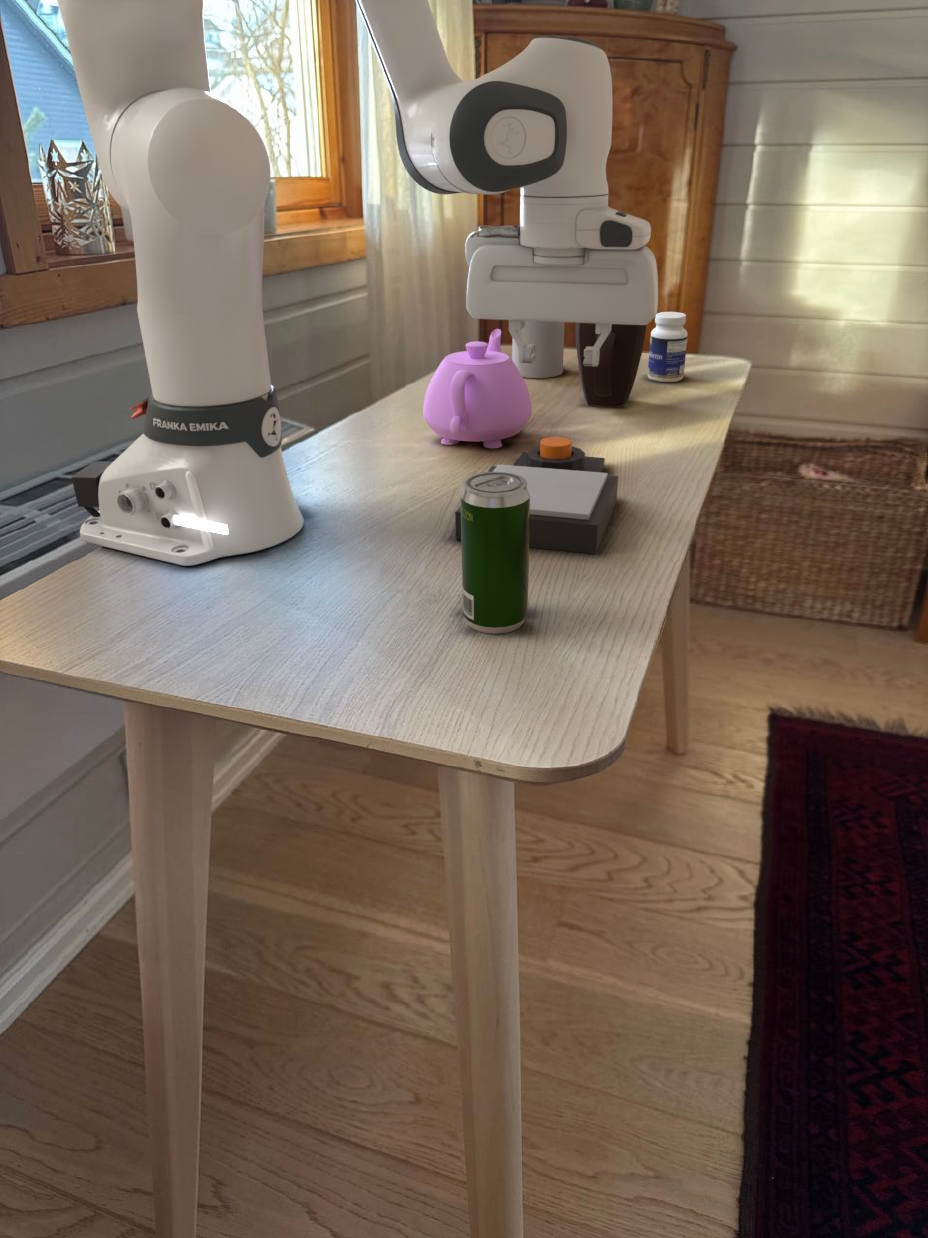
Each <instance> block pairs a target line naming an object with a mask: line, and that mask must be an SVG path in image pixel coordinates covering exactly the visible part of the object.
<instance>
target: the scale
mask: <svg viewBox="0 0 928 1238" xmlns="http://www.w3.org/2000/svg"><path fill="white" fill-rule="evenodd" d="M487 472H506V473H512V474H516V475H519V476H522V477H523V478H525V479H526V481H527V490H528V492H529V494H530V528H529V548H533V549H543V550H552V551H563V552H572V553H580V554H581V553H582V554H589V555H590V554H592V555H596V554H597V553H598V550H599V547H600V545H601V543H602V540H603V538H604V535H605V533H606V530H607V527H608V524H609V522H610V519H611V517H612V514H613V512H614V510H615V506H616V504H617V499H618V488H619V487H618V485H619V476H618V475H611V474H610V475H609V473H608V472H602V473H601V472H588V471H576V470H563V469H550V468H538V467H525V466H513V464H499V463H498V464H497V465H491V466H490V467H489V469H488V470H487ZM454 521H455V541H461V504H460V505H459V506H458V508H457V509H456V510H455V512H454Z"/></svg>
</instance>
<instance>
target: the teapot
mask: <svg viewBox="0 0 928 1238" xmlns="http://www.w3.org/2000/svg"><path fill="white" fill-rule="evenodd" d="M501 330H502V329H500V328H495V329H493V330H492V331H491V333H490V335H489V341H488V342H485V341H469V342H467V343H465V349H466V350H465V351H464V350H463V351H457V352H453V353H450V354H447V355H446V356H445V357H444V358H443V359H442V361H441V362H440V363H439V365H438V366H437V369H436V370H435V372H434V374H433V375H432V377H431V380H430V382H429V383H428V385H427V389H426V392H425V395H424V400H423V407H422V413H423V414H422V416H423V419H424V421H425V423H426V424H427V425H428V426H429V428H430V429H432V431H433V432H434V433H435V434H436V435H438V436H440V437H442V438H441V441H440V444H442V445H446V446H452V445H457V444H459V443H460V441H461V442H482V443H483V447H484V448H486V449H499V448H502V447H503V443H502V441H501V440H504V439H508V438H511V437H513V436H516V435H517V434H519V433H520V432H521V431H522V430H523V429H524V428H525V427H526V425H527V424H528V423H529V421H530V420H531V417H532V415H533V405H532V399H531V395H530V392H529V388H528V386H527V383H526V381H525V379H524V377H522V375H521V374H520V372H519V370H518V369H517V367H516V365H515V364H514V362H513V361H512V357H511V356H509V355H508V354H506V353H504V352H502V347H501V345H502V344H501V340H502V331H501Z"/></svg>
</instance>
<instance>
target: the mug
mask: <svg viewBox="0 0 928 1238" xmlns="http://www.w3.org/2000/svg"><path fill="white" fill-rule="evenodd" d="M595 330H596V323H575V346H576V357H577V363H578V371H579V377H580V383H581V388H582V392H583V396H584V400H585V402H586V404H587V405H588V406H589V407H590V406H591V407H598V408H621V407H623V406H625V405H626V404H627V403H628V401H629V398H630V395H631V393H632V390H633V388H634V384H635V381H636V377H637V373H638V371H639V367H640V363H641V359H642V354H643V350H644V344H645V341H646V334H647V333H646V332H647V325H628V324H612V326H611V332H610V334H609V335H608V337H607V338H606V340H605V341H604V343H603V345H602V346H601V348H600V355H599V364H598V366H597V367H596V366H584V365H583V360H584V359H585V358H584V349H586V347H593V346H594V345H595V343H596V342H597V340H598V338H599V337H600V335H601V333H600V334H596V333H595Z"/></svg>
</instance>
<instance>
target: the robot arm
mask: <svg viewBox="0 0 928 1238" xmlns="http://www.w3.org/2000/svg"><path fill="white" fill-rule="evenodd" d="M354 1H355V3H356V6H357V8H358V11H359V14H360V16H361V19H362V21H363V25H364V26H365V29H366V32H367V34H368V37H369V39H370V42H371V45H372V47H373V50H374V53H375V55H376V57H377V58H376V59H377V60H378V63H379V65H380V68H381V70H382V74H383V75H384V78H385V81H386V84H387V86H388V90H389V93H390V97H391V100H392V105H393V111H394V121H395V123H394V124H395V134H396V135H395V136H396V144H397V149H398V153H399V156H400V160H401V162H402V165H403V167H404V168H405V170H406V172H407V174H408V175H409V176H410V177H411V179H412V180H413V181H414V182H415V183H416V184H417V185H419V186H420V187H421V188H423V189H425V190H426V191H428V192H430V193H433V194H437V195H455V194H468V195H469V194H470V195H473V194H474V195H500V194H503V193H506V192H509V191H512V190H514V189H519V190H520V191H519V192H520V194H519V195H520V197H519V225H500V226H492V225H489V224H488V225H480V226H479V227H478V229H475V230H473V231H471V232H470V234H469V235H468V236H467V238H466V240H465V261H466V262H465V263H466V264H467V266H468V268H469V269H468V275H467V284H466V296H465V303H466V304H465V310H466V311H467V312H468V314H469V315H470V316H471V318H472V319H474V320H496V321H508V332H509V334H510V336H511V338H513V339H514V341H515V343H516V345H517V347H519V357H518V360H519V363H533V362H534V359H535V354H534V351H535V344H528V342H527V340H526V338H525V336H524V334H523V332H522V329H523V328H524V327H525V322H526V321H548V322H565V323H575V324H576V323H596V330H595V333H596V334H600V333H601V335H600V337H599V338H598V340H597V342H596V343H595V345H594V346H593V347H586V349H584V358H585V359H584V360H583V365H584V366H596V367H597V366H598V364H599V355H600V348H601V346H602V345H603V343H604V341H605V340H606V338H607V337H608V335H609V334H610V332H611V326H612V324H628V325H646V326H648V324H650V323H651V322H652V321H653V320H654V319H655V316H656V314H657V313H658V306H659V276H658V264H657V259H656V257H655V253H654V252H653V251H652V250H651V249H650V247H648V246H646V245H648V243H649V242H650V239H651V235H652V227H651V224H650V222H649V221H648V220H646V219H643V218H641V217H638V216H635V215H632V214H629V213H627V212H624V211H621V210H618V209H615V208H612V207H610V206H609V183H608V179H607V162H608V157H609V153H610V150H611V147H612V134H613V82H612V81H613V80H612V72H611V71H612V70H611V66H610V62H609V59H608V56H607V53H606V52H605V51H604V50H603V49H602V48H601V47H600V46H598V44H596V43H594V42H592V41H590V40H587V39H583V38H579V37H574V36H569V35H567V36H564V35H559V34H549V35H546V34H545V35H540V36H537V37H535V38H533V39H532V40H531V41H530V42H529V44H528V46H526V47H525V49H523V50H522V51H521V52H520V53H518V54H517V55H516V56H514V57H513V58H512V59H511V60H509V61H507V62H506V63H504V64H502V65H501V66H499V67H497V68H495V69H494V70H492V71H489V72H487V73H485V74H482V75H481V76H480V77H478V78H475V79H470V80H466V81H464V80H463V79H462V78H461V77H460V76H459V75H458V74H457V73H456V72H455V71H454V69H453V67H452V65H451V64H450V61H449V59H448V56H447V53H446V50H445V47H444V45H443V41H442V39H441V36H440V33H439V30H438V27H437V24H436V20H435V18H434V14H433V12H432V8H431V6H430V3H429V0H354ZM56 2H57V4H58V8H59V11H60V14H61V18H62V22H63V26H64V30H65V34H66V39H67V43H68V47H69V52H70V57H71V61H72V65H73V70H74V73H75V74H74V75H75V78H76V82H77V86H78V90H79V91H78V92H79V94H80V98H81V102H82V103H81V104H82V106H83V111H84V115H85V118H86V122H87V125H88V130H89V133H90V136H91V140H92V141H91V142H92V145H93V148H94V152H95V155H96V159H97V162H98V166H99V170H100V172H101V176H102V178H103V182H104V184H105V186H106V188H107V190H108V192H109V194H110V195H111V197H112V198H113V200H114V201H115V202H116V203H117V204H118V206H119V207H120V208H121V209H122V210H123V211H124V212H125V213H127V215H129V216H130V220H131V221H130V222H131V229H132V238H133V248H134V259H135V260H134V261H135V271H136V288H137V289H136V290H137V304H136V313H137V317H138V323H139V329H140V334H141V337H142V339H141V340H142V345H143V351H144V354H145V355H144V356H145V361H146V366H147V371H148V377H149V383H150V387H151V394H150V395H148V396H147V397H146V398H143V400H142V402H140V403H137V404H135V405H133V406H131V407H129V410H130V411H133V410H134V411H135V410H136V409H137V410H136V411H135V412H134V413H133V414H132V415H131V416H130V418H131V419H132V420H135V419H138V418H140V417H141V416H145V417H144V422H143V427H142V434H141V435H140V436H139V437H137V438H136V439H135V441H133V442H132V443H131V444H130V445H129V446H128V447H127V448H126V449H125V450H124V451H123V452H122V453H121V454H120V455H118V456H117V458H116V459H114V461H96V460H95V461H92V462H90V463H89V464H88V465H87V466H85V467H84V468H82V469H80V471H78V472H76V473H75V474H74V475H72V476H71V478H70V479H71V482H72V487H73V491H74V495H75V499H76V503H77V506H78V508H84V509H85V510H86V511H87V512H88V513H89V515H90V516H89V517H88V518H87V519H86V520H85V521H84V522H83V523H82V525H81V526H80V528H79V537H80V538H79V539H80V541H81V542H85V543H89V544H92V545H96V546H101V547H105V548H109V549H111V550H112V549H113V550H116V551H121V552H125V553H128V554H132V555H133V554H134V555H138V556H142V557H146V558H149V559H152V560H153V559H154V560H158V561H161V562H165V563H166V562H167V563H171V564H174V565H177V566H178V565H179V566H184V567H187V566H188V567H189V566H190V567H191V566H195V565H200V564H204V563H207V562H210V561H213V560H217V559H220V558H225V557H230V556H237V555H243V554H244V555H245V554H249V553H253V552H259V551H262V550H265V549H269V548H271V547H274V546H277V545H280V544H282V543H284V542H286V541H288V540H290V539H291V538H293V537H294V536H295V535H297V534H299V532H300V531H301V530H302V528H303V527H304V523H305V519H304V517H303V514H302V511H300V510H301V509H300V508H299V505H298V503H297V500H296V498H295V495H294V491H293V489H292V486H291V482H290V479H289V475H288V472H287V468H286V464H285V460H284V459H285V458H284V456H283V449H282V442H283V441H282V435H283V434H282V421H281V415H280V414H281V413H280V407H279V406H280V405H279V399H278V394H277V389H276V387H275V386H274V385H273V384H272V380H271V373H270V372H271V371H270V364H269V356H268V347H267V339H266V338H267V337H266V329H265V319H264V310H263V309H264V308H263V269H264V252H265V251H264V249H265V205H266V201H267V200H268V195H269V191H270V187H271V164H270V159H269V154H268V151H267V147H266V145H265V143H264V140H263V138H262V137H261V134H260V133H259V131H258V130H257V129H256V127H255V126H254V125H253V124H252V122H251V121H250V120H249V119H248V118H247V117H246V116H245V115H244V114H243V112H241V111H240V110H239V109H237V108H236V107H235V106H234V105H232V104H231V103H230V102H228V101H227V99H224V98H222V97H221V96H219V95H217V94H215V93H213V92H212V88H211V81H210V74H209V65H208V64H209V63H208V56H207V46H206V37H205V24H204V8H205V7H204V5H205V0H56ZM477 235H478V236H477ZM96 508H98V509H99V510H97V509H96Z"/></svg>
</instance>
